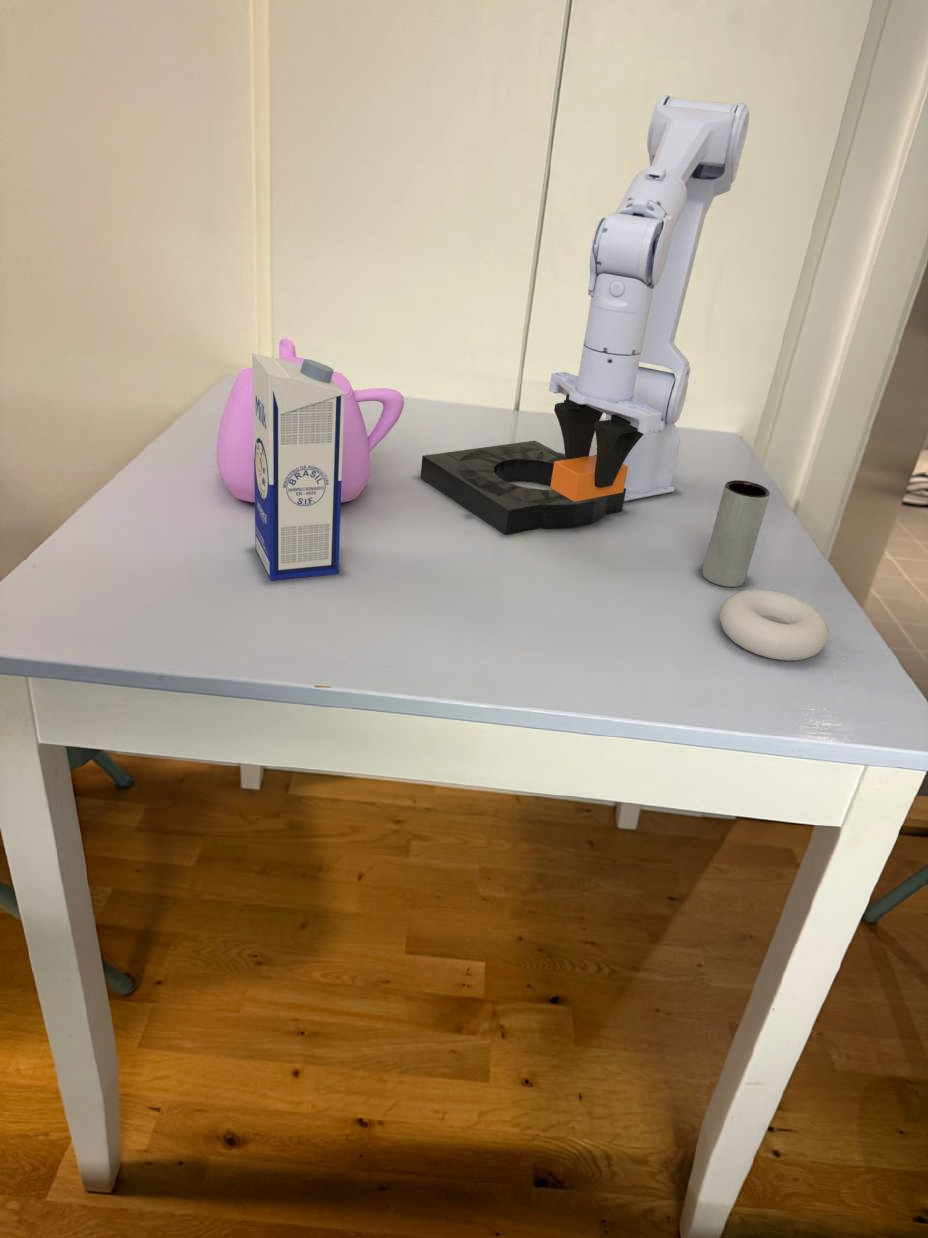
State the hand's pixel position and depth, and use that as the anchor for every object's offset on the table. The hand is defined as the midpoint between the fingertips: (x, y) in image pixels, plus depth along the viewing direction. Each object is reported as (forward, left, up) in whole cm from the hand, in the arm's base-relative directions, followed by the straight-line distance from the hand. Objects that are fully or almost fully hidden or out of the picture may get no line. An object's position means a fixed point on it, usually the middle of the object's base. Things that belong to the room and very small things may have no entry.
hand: (588, 477), depth 95 cm
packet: (0, 0, -1) cm, 1 cm away
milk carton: (+29, -9, -9) cm, 32 cm away
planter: (-11, +12, -9) cm, 18 cm away
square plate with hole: (-4, -14, -8) cm, 17 cm away
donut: (-5, +23, -9) cm, 25 cm away
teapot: (+21, -27, -9) cm, 35 cm away
